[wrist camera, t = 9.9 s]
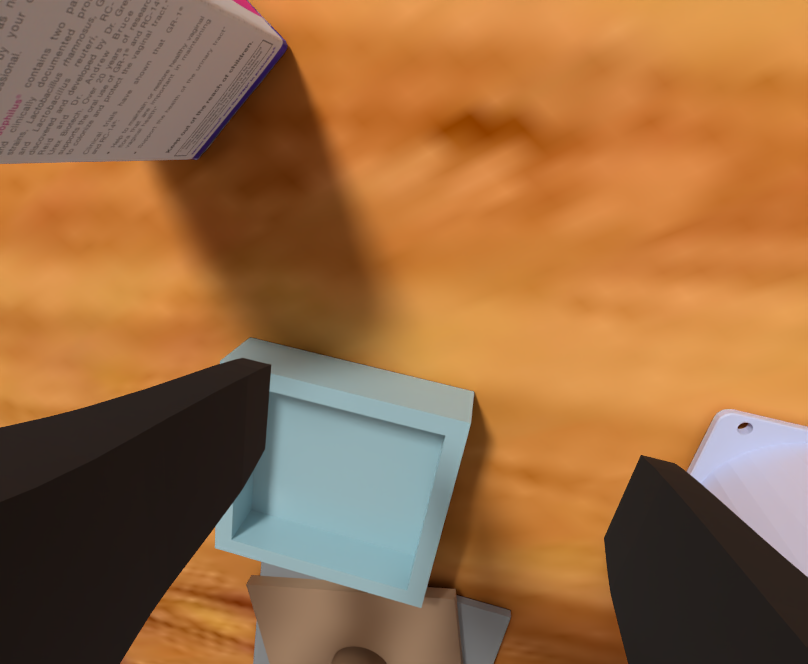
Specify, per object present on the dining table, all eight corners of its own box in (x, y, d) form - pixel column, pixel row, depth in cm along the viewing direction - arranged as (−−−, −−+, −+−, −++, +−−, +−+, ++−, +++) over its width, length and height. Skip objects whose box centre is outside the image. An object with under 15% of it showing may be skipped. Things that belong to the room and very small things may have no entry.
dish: (474, 391, 20) (471, 423, 18) (428, 564, 24) (421, 607, 22) (250, 337, 22) (220, 360, 19) (240, 511, 25) (214, 548, 23)
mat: (510, 610, 25) (510, 617, 24) (455, 757, 30) (454, 765, 29) (266, 540, 26) (262, 546, 25) (253, 693, 31) (250, 699, 30)
